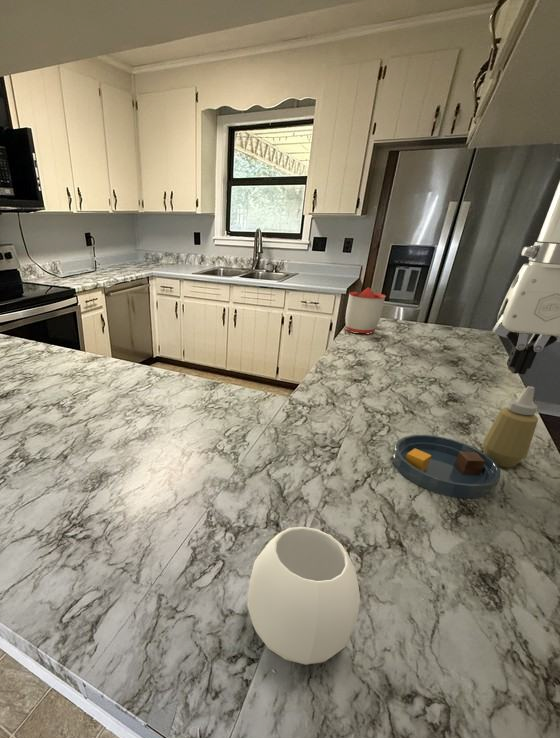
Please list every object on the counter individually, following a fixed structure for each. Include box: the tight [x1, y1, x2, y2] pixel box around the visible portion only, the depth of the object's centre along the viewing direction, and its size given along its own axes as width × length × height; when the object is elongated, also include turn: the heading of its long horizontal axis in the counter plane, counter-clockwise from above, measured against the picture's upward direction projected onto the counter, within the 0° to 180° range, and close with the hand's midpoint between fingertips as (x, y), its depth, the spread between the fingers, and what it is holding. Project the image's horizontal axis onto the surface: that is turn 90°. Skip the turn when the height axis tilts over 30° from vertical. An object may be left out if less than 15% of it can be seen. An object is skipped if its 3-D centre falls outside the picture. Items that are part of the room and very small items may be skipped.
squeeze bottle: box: [482, 385, 539, 468], centre depth 84 cm, size 8×8×18 cm
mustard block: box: [405, 448, 431, 471], centre depth 84 cm, size 4×4×4 cm
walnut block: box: [454, 452, 485, 475], centre depth 83 cm, size 4×4×4 cm
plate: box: [391, 434, 501, 499], centre depth 84 cm, size 19×19×4 cm
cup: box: [247, 526, 361, 666], centre depth 49 cm, size 13×13×14 cm
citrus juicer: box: [345, 287, 387, 333], centre depth 181 cm, size 16×17×20 cm
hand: (515, 371), depth 68 cm, fingers closed
